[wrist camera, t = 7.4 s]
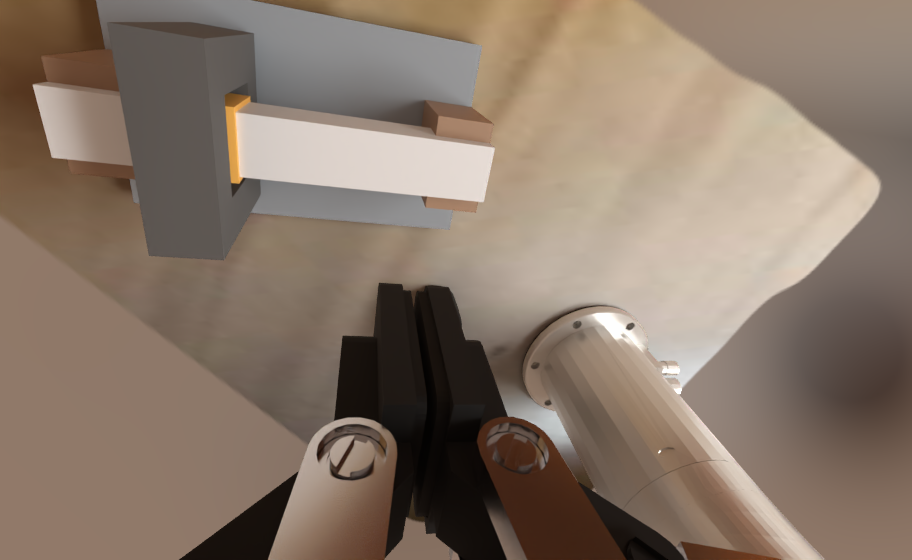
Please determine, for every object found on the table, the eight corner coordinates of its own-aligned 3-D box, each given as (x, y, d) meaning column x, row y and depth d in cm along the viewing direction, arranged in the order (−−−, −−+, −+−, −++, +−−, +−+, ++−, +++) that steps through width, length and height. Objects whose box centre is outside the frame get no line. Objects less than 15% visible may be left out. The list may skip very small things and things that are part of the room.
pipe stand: (476, 44, 28) (516, 52, 21) (445, 221, 33) (469, 274, 26) (105, -29, 23) (-9, -51, 16) (143, 194, 28) (73, 251, 21)
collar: (254, 33, 23) (203, 38, 16) (260, 194, 28) (224, 260, 20) (191, 22, 23) (106, 22, 15) (208, 189, 27) (149, 255, 19)
